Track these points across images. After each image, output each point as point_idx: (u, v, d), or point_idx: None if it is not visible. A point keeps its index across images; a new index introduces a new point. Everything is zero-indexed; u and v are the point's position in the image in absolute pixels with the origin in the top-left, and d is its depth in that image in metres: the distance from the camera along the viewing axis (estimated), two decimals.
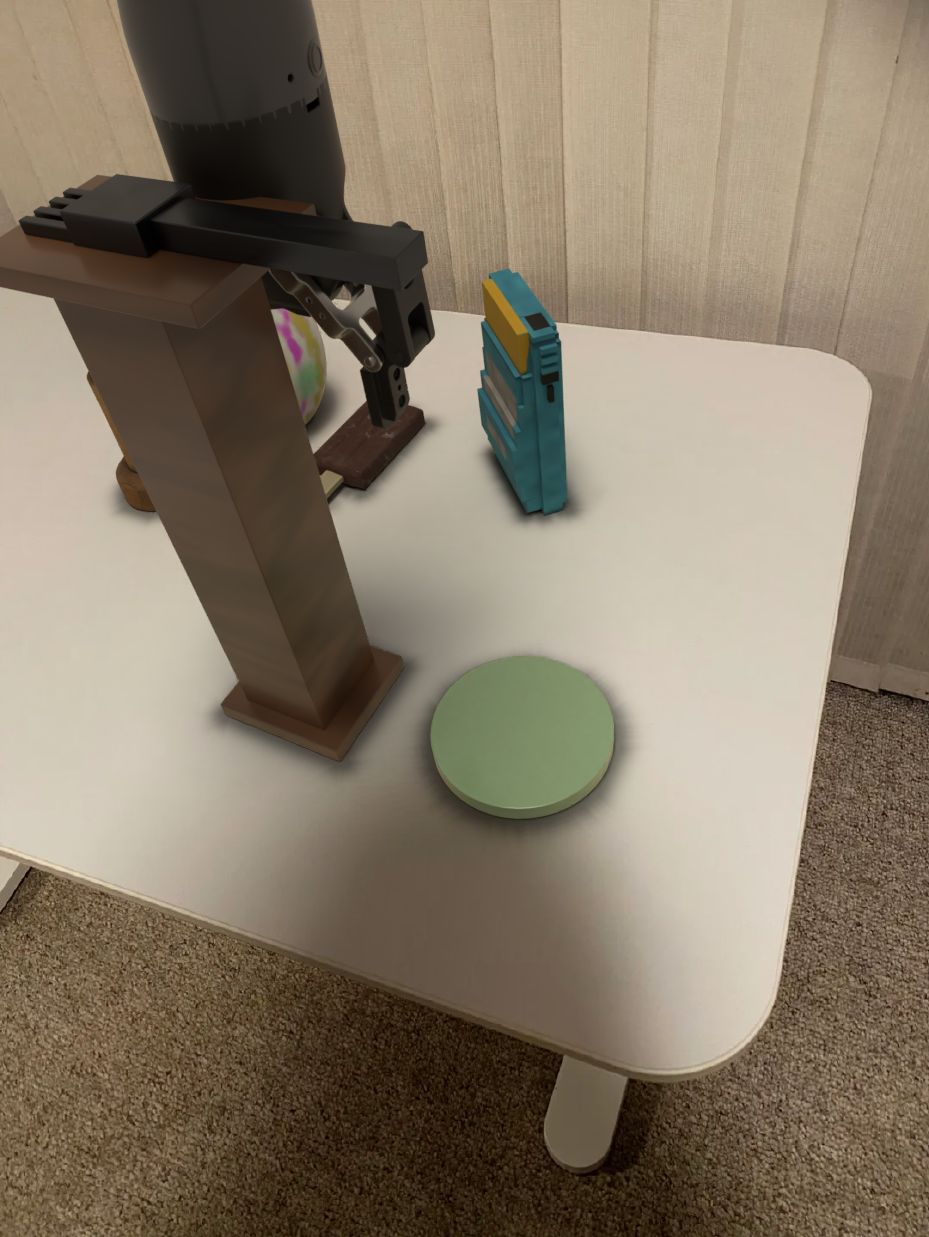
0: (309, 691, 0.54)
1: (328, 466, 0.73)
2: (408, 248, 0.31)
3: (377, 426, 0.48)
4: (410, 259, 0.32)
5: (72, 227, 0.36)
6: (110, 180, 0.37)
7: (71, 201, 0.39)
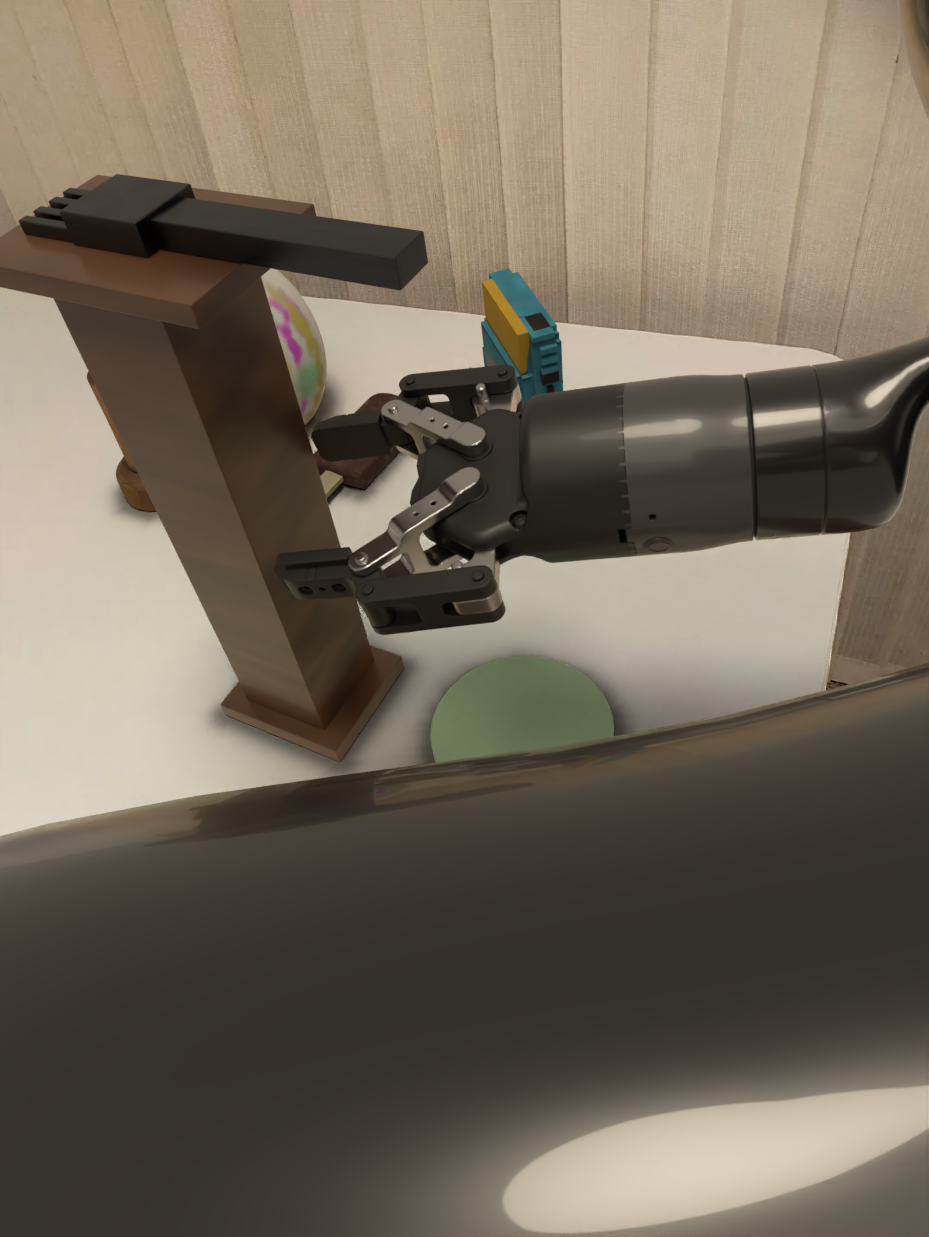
0: (309, 691, 0.54)
1: (328, 466, 0.73)
2: (408, 248, 0.31)
3: (278, 558, 0.41)
4: (410, 259, 0.32)
5: (72, 227, 0.36)
6: (110, 180, 0.37)
7: (71, 201, 0.39)
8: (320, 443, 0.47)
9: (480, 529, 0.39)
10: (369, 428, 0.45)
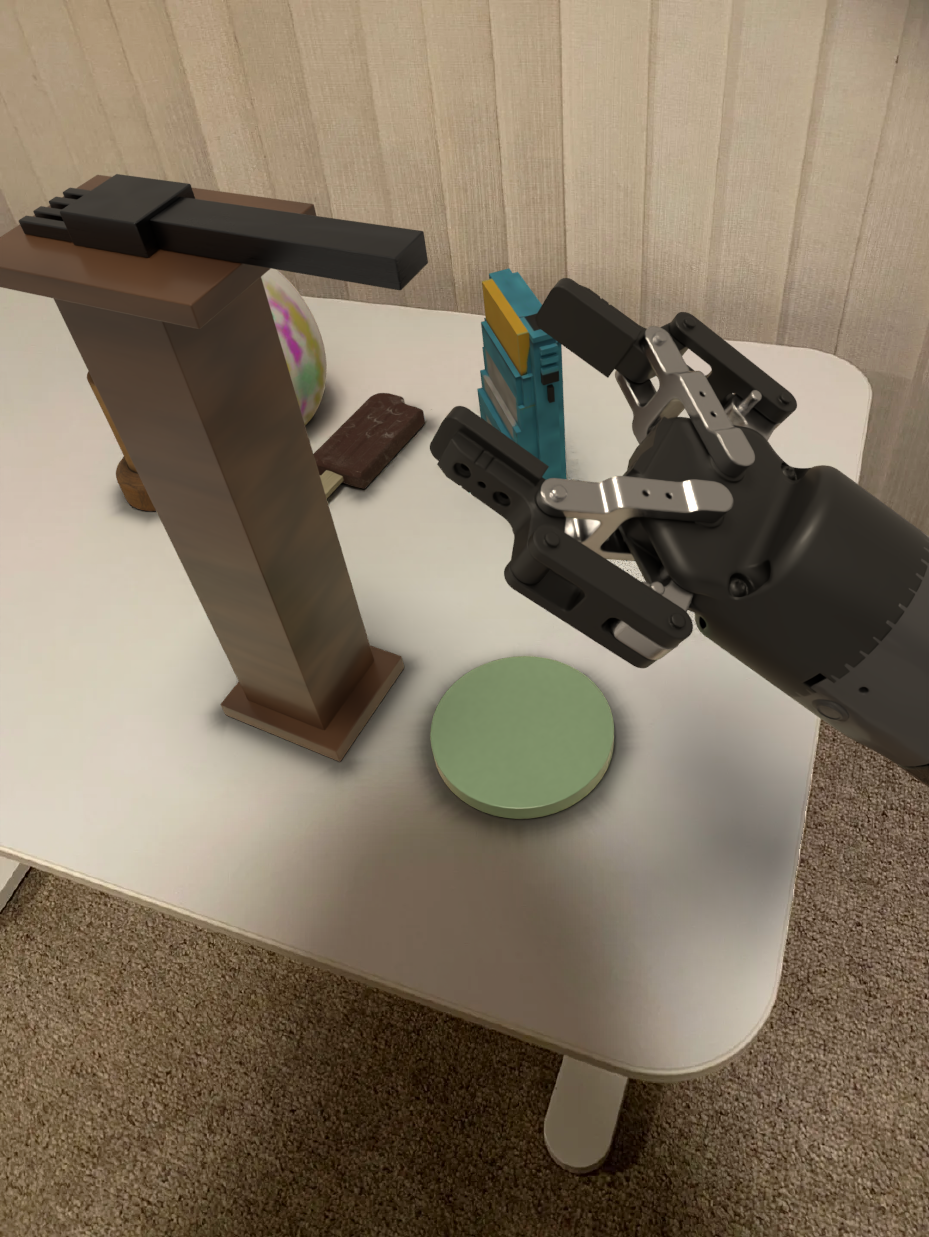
0: (309, 691, 0.54)
1: (328, 466, 0.73)
2: (408, 248, 0.31)
3: (460, 412, 0.30)
4: (410, 259, 0.32)
5: (72, 227, 0.36)
6: (110, 180, 0.37)
7: (71, 201, 0.39)
8: (552, 303, 0.35)
9: (697, 564, 0.31)
10: (620, 337, 0.35)
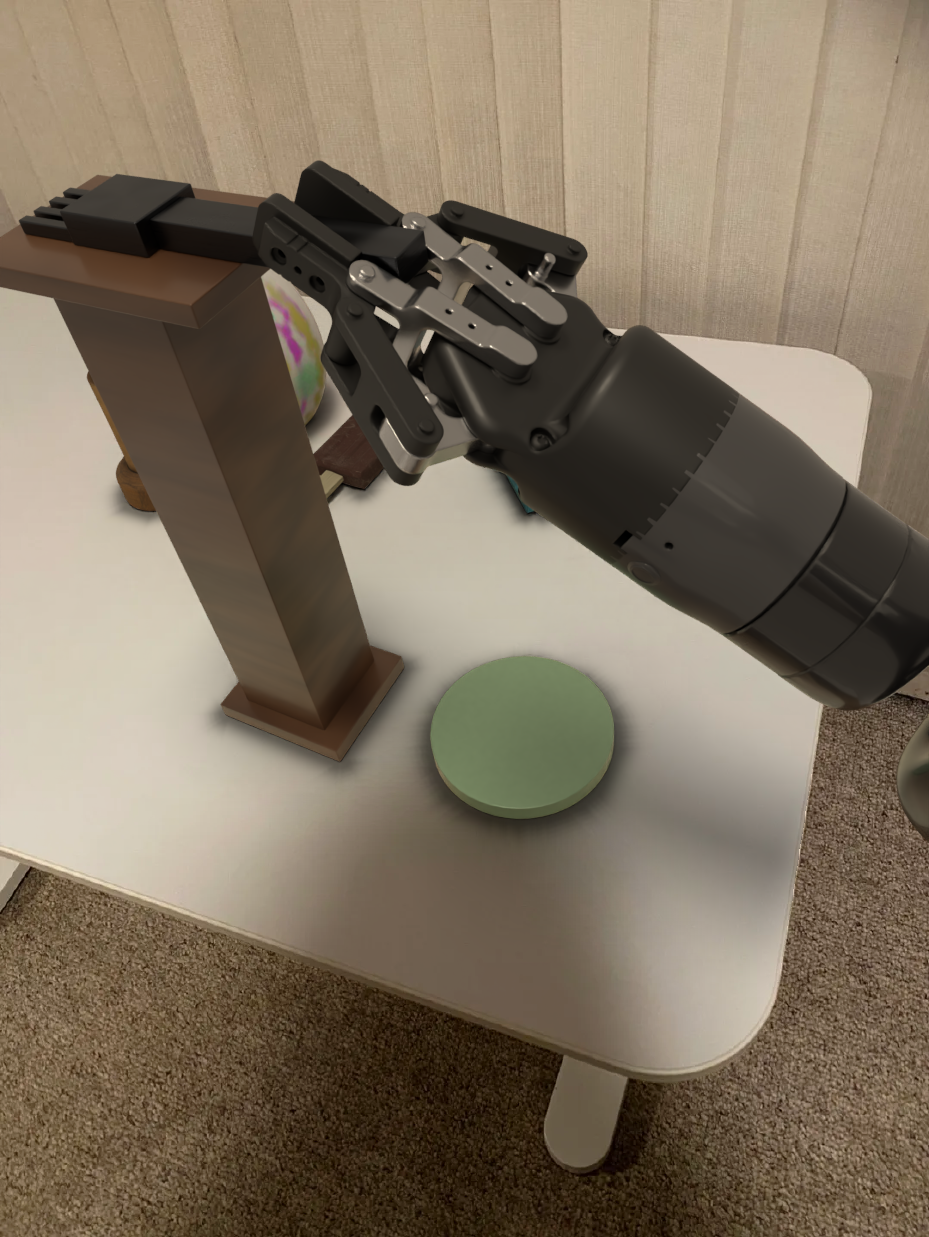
0: (309, 691, 0.54)
1: (328, 466, 0.73)
2: (408, 247, 0.31)
3: (274, 198, 0.31)
4: (410, 258, 0.32)
5: (72, 227, 0.36)
6: (110, 180, 0.37)
7: (71, 201, 0.39)
8: (306, 189, 0.33)
9: (496, 416, 0.30)
10: (375, 223, 0.33)
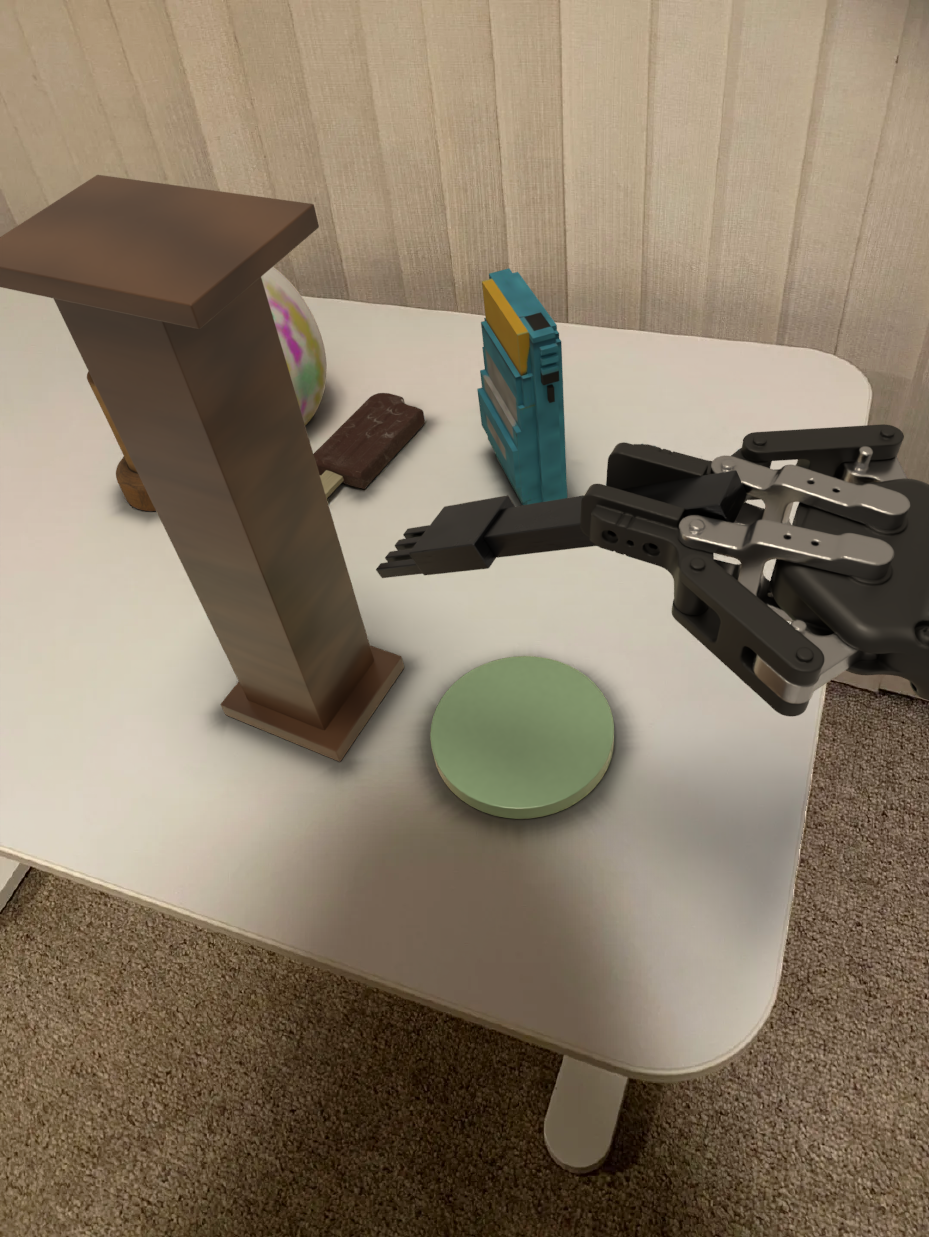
0: (309, 691, 0.54)
1: (328, 466, 0.73)
2: (727, 490, 0.33)
3: (594, 488, 0.34)
4: (731, 499, 0.33)
5: (421, 562, 0.42)
6: (441, 513, 0.43)
7: (412, 540, 0.45)
8: (615, 470, 0.36)
9: (871, 623, 0.29)
10: None
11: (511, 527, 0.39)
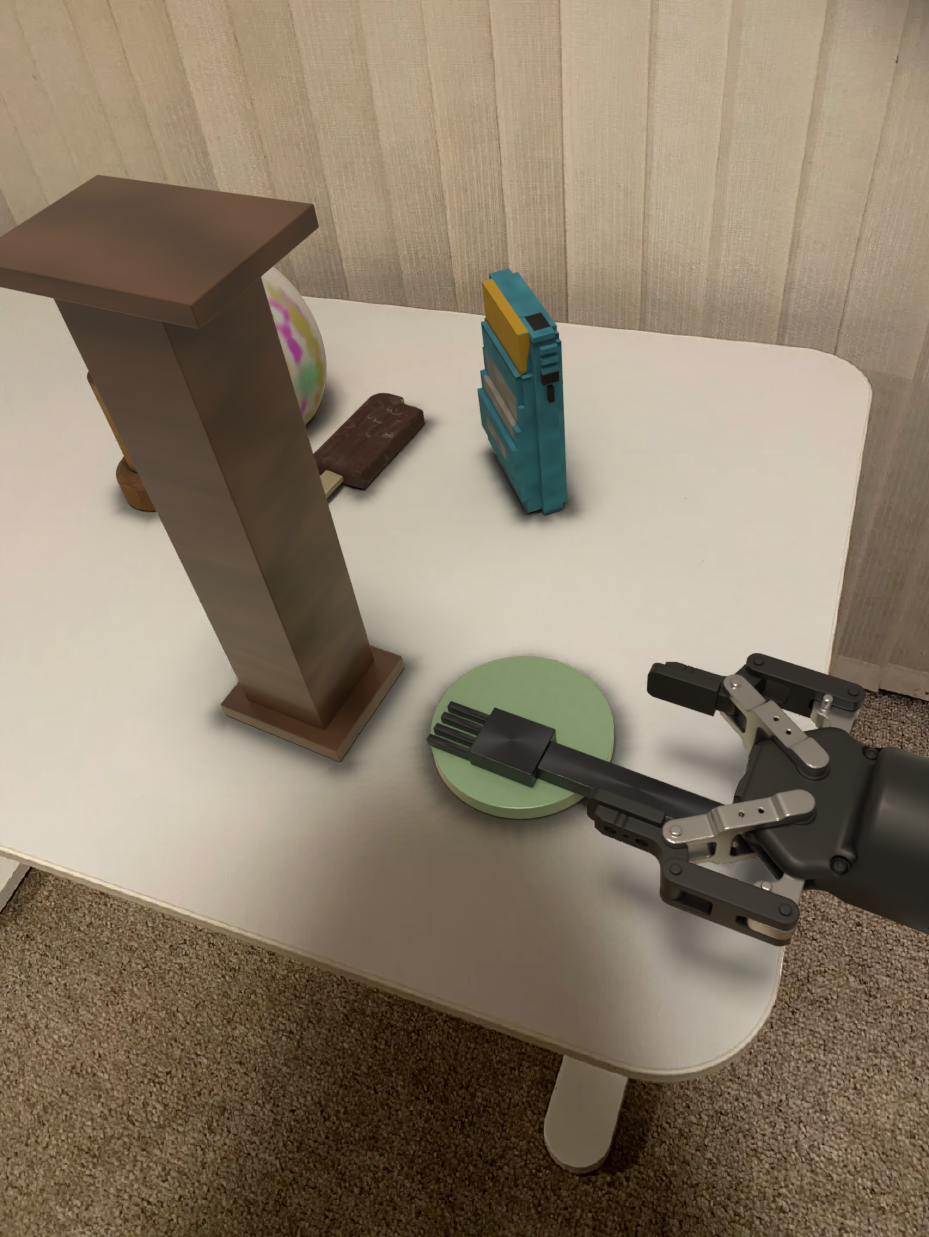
0: (309, 691, 0.54)
1: (327, 466, 0.73)
2: None
3: (596, 791, 0.44)
4: None
5: (475, 759, 0.53)
6: (493, 715, 0.54)
7: (459, 720, 0.55)
8: (653, 681, 0.49)
9: (799, 858, 0.41)
10: (706, 692, 0.47)
11: (561, 769, 0.52)
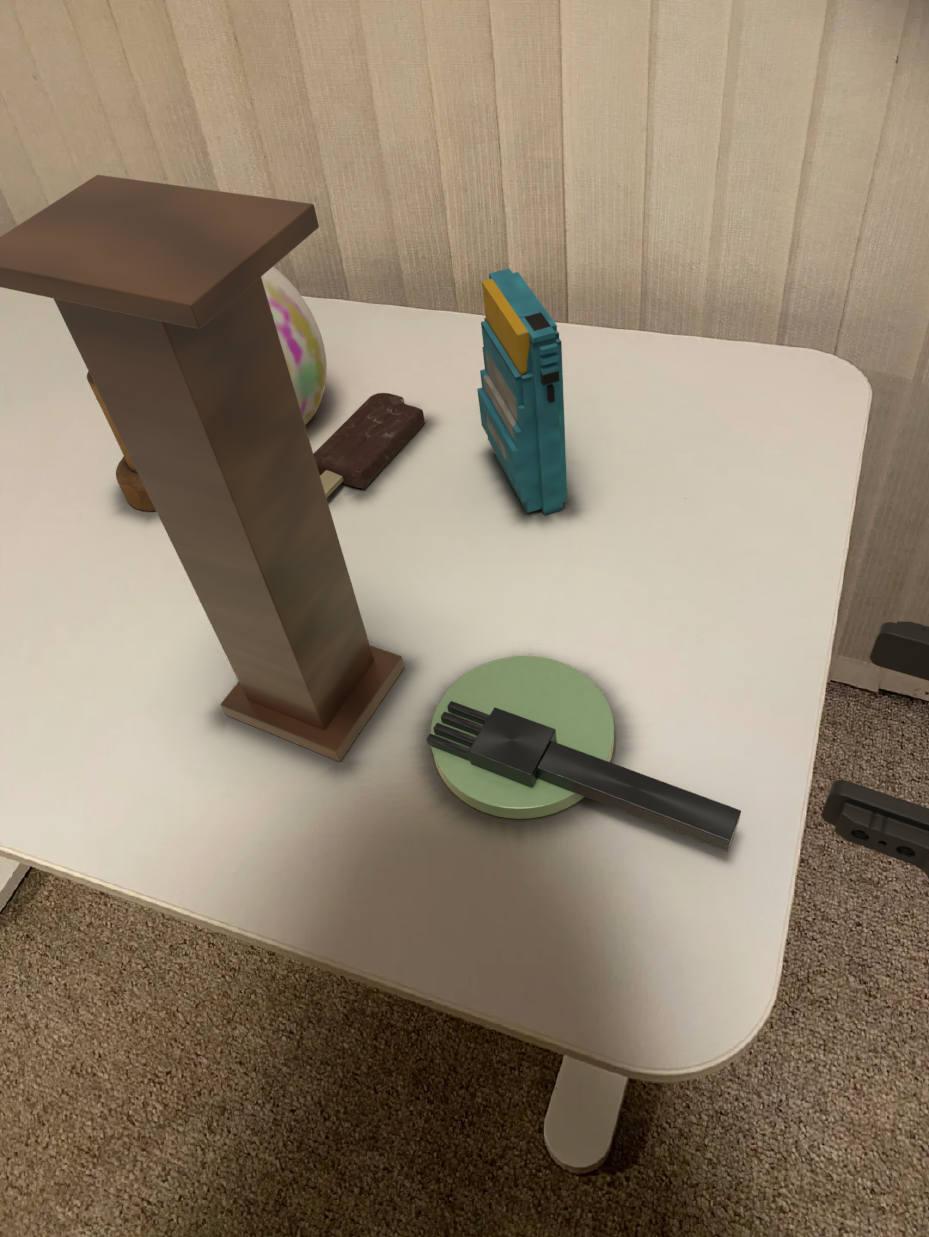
0: (309, 691, 0.54)
1: (327, 466, 0.73)
2: (734, 828, 0.48)
3: (841, 786, 0.35)
4: (734, 832, 0.49)
5: (475, 759, 0.53)
6: (493, 715, 0.54)
7: (459, 720, 0.55)
8: (882, 646, 0.40)
9: None
10: None
11: (561, 769, 0.52)
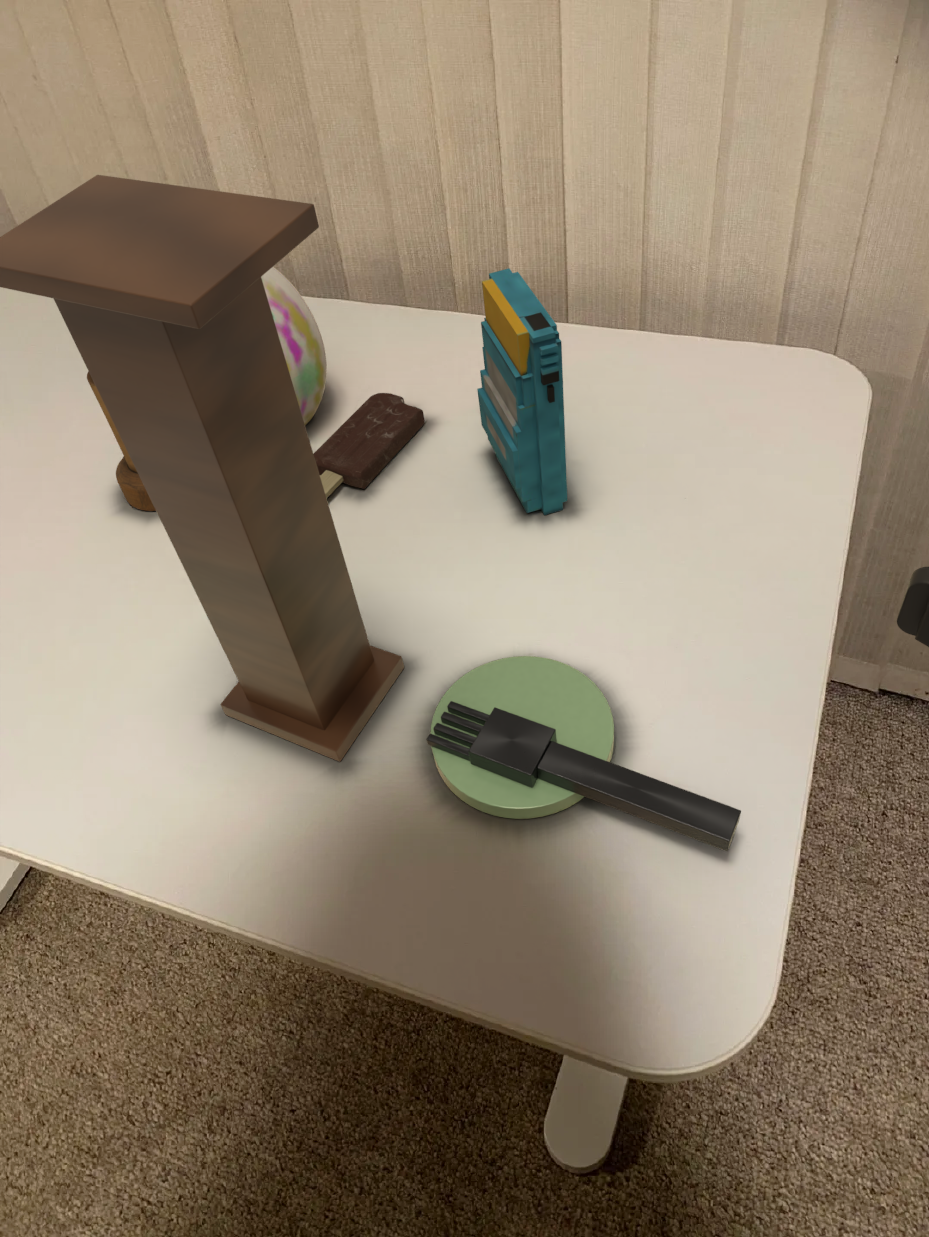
0: (309, 691, 0.54)
1: (327, 466, 0.73)
2: (734, 828, 0.48)
3: (926, 573, 0.26)
4: (734, 832, 0.49)
5: (475, 759, 0.53)
6: (493, 715, 0.54)
7: (459, 720, 0.55)
8: None
9: None
10: None
11: (561, 769, 0.52)
